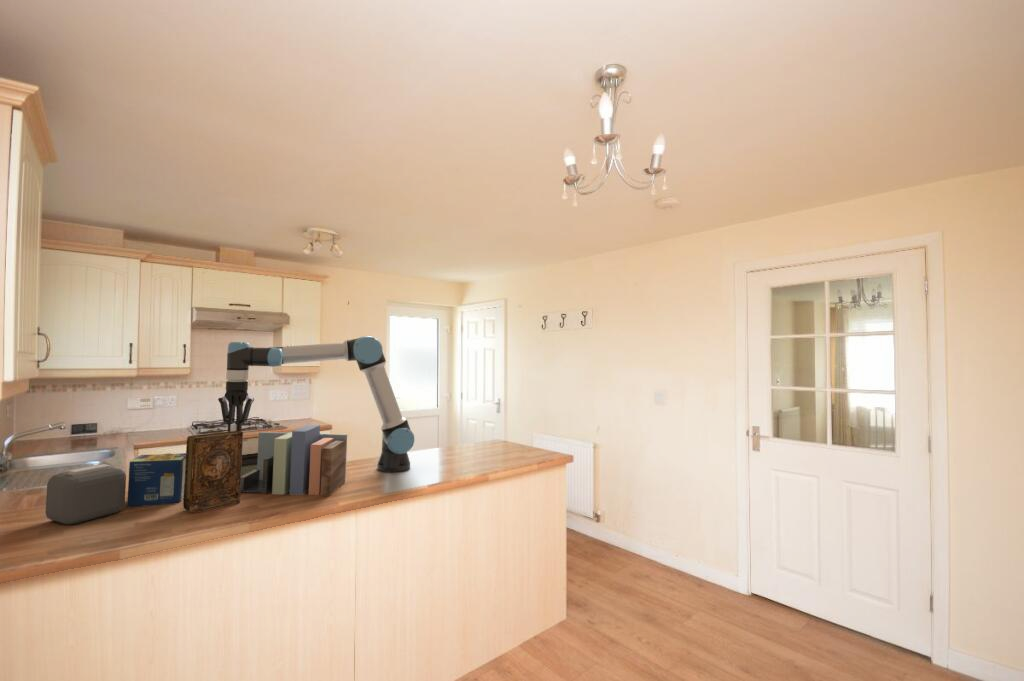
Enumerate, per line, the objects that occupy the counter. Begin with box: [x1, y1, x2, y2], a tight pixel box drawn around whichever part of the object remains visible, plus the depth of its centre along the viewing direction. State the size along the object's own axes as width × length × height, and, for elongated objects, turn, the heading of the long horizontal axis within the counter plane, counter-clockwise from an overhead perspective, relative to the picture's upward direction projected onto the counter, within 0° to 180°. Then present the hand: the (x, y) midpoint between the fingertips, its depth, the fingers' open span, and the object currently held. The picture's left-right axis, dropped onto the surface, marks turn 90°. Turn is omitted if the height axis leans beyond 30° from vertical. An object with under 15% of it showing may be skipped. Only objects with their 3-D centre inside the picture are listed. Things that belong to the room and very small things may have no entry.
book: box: [182, 430, 244, 514], centre depth 162 cm, size 16×6×25 cm, turn 143°
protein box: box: [126, 452, 186, 507], centre depth 166 cm, size 10×15×16 cm
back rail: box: [256, 431, 348, 484], centre depth 194 cm, size 36×1×20 cm, turn 92°
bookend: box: [240, 455, 274, 495], centre depth 184 cm, size 12×16×13 cm
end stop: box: [319, 440, 346, 497], centre depth 186 cm, size 4×17×18 cm, turn 2°
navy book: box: [289, 424, 321, 496], centre depth 185 cm, size 5×15×24 cm, turn 2°
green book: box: [271, 431, 292, 495], centre depth 185 cm, size 4×15×21 cm, turn 2°
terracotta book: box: [308, 438, 334, 496], centre depth 185 cm, size 4×14×19 cm, turn 2°
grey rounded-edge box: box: [45, 463, 127, 525], centre depth 149 cm, size 16×11×16 cm
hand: (234, 440), depth 184 cm, fingers closed
